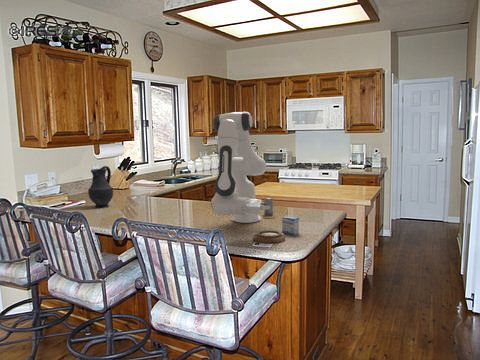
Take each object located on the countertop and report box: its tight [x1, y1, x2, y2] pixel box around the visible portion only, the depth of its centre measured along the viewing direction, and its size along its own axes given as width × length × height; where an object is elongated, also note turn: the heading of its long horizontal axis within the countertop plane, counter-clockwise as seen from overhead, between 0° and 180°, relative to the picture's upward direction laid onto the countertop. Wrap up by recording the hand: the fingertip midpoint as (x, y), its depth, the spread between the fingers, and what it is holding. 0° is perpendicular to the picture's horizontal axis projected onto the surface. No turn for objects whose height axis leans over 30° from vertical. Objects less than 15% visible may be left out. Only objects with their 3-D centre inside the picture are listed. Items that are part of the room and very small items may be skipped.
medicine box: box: [281, 215, 300, 236], centre depth 216 cm, size 8×4×9 cm, turn 52°
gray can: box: [261, 197, 276, 220], centre depth 204 cm, size 6×6×10 cm
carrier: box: [253, 229, 286, 244], centre depth 205 cm, size 16×16×3 cm
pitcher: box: [87, 165, 114, 209], centre depth 303 cm, size 17×21×30 cm
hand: (270, 206), depth 203 cm, fingers closed on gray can, 4 cm apart
